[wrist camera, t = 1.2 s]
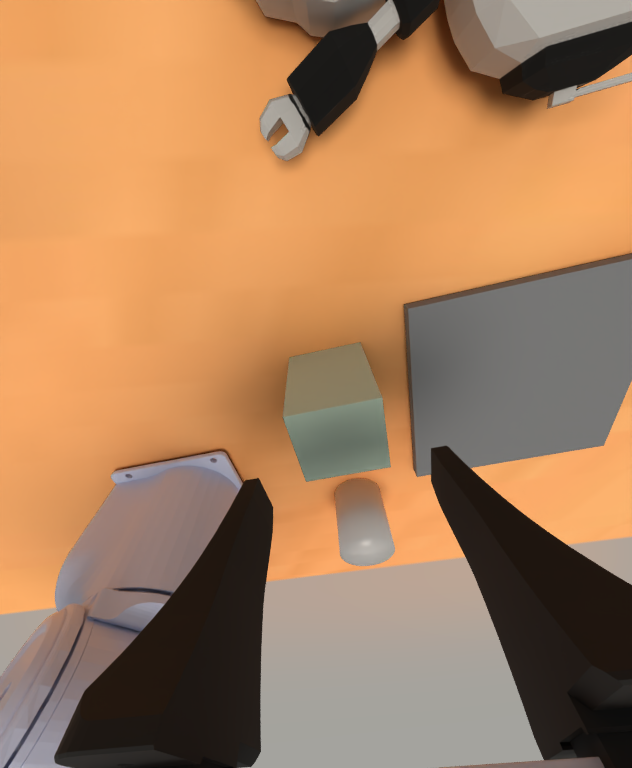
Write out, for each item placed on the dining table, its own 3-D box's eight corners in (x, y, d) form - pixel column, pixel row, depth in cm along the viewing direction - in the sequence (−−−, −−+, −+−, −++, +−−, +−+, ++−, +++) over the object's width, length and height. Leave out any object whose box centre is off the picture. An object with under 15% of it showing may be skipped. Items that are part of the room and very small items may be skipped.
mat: (413, 469, 24) (416, 476, 23) (403, 304, 16) (408, 308, 16) (594, 438, 22) (603, 445, 22) (671, 244, 15) (689, 246, 14)
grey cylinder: (338, 510, 26) (345, 569, 22) (330, 482, 24) (335, 541, 20) (382, 503, 26) (396, 561, 22) (377, 474, 24) (392, 532, 20)
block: (306, 412, 20) (306, 481, 15) (289, 357, 18) (282, 417, 13) (369, 400, 20) (390, 467, 15) (360, 341, 18) (382, 397, 12)
